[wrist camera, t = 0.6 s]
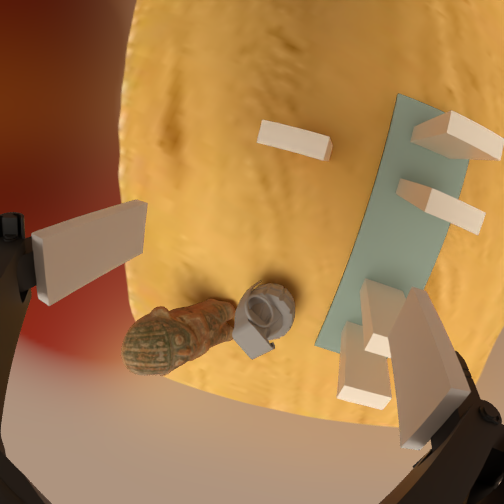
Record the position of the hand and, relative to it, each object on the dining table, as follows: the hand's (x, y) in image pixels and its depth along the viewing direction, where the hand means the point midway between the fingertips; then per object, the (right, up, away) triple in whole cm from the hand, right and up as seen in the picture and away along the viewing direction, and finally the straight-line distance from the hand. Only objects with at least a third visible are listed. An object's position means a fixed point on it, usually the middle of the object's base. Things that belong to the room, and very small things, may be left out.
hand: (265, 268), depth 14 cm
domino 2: (+14, -4, +19) cm, 25 cm away
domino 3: (+13, -9, +22) cm, 27 cm away
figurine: (-6, -6, +27) cm, 29 cm away
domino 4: (+19, +12, +13) cm, 26 cm away
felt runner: (+16, +2, +18) cm, 24 cm away
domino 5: (+17, +7, +15) cm, 24 cm away
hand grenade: (+2, -4, +24) cm, 25 cm away
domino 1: (+6, +12, +18) cm, 22 cm away
